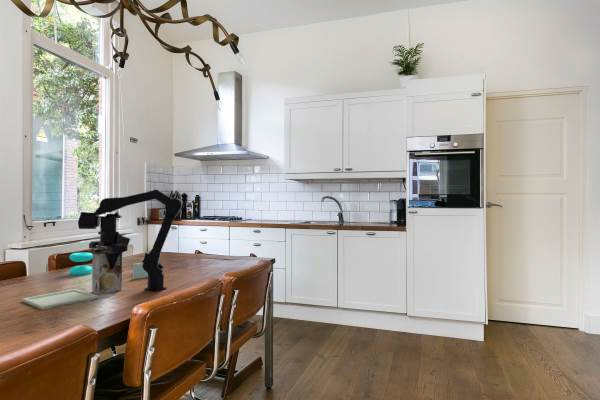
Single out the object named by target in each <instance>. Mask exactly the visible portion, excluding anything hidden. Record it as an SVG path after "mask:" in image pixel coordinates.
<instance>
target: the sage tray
mask: <svg viewBox="0 0 600 400" xmlns="http://www.w3.org/2000/svg"><path fill="white" fill-rule="evenodd" d="M97 299H98V295H97V294H95V293H90V292H87V291H84V290H81V289H79V288H78V289H77V288H74V289H73V288H72V289H67V290H60V291H57V292H51V293H45V294H40V295H34V296H28V297H22V302H23V303H25V304H28V305H30V306H32V307H35V308H36V309H40V310H41V311H44V310H49V309H53V308H57V307H63V306H68V305H73V304H79V303H82V302H87V301H92V300H97Z"/></svg>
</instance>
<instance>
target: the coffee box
mask: <svg viewBox="0 0 600 400" xmlns="http://www.w3.org/2000/svg"><path fill="white" fill-rule="evenodd" d="M106 252H109V251H100V252H93V251H92V254H93V258H92V259H91V261H92V262H91V263H92V266H91V267H92V273H91V284H92V286H91V292H92V293H93V294H96V295H97V294H98V295H103V294H108V293H113V292H118V291H122V290H123V289H122V288H123V285H122V284H123V282H122V281H123V280H122V279H123V278H122V277H123V275H122V274H123V273H122V272H123V271H122V270H123V269H122V268H123V266H122V265H123V253H121V254H120V255H119V256H118V258H117V261H116V263H115V266H114V268H113V269H110V266H109V262H108V259H107V255H106Z"/></svg>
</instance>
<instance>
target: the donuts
mask: <svg viewBox="0 0 600 400" xmlns="http://www.w3.org/2000/svg"><path fill="white" fill-rule="evenodd" d="M92 258H93V252H92V253H91V252H74V253H73V252H72V253H71V254H70V255H69V259H70V261H72V262H78V263H79V262H89V261H90V260H91V261H92ZM68 273H69V274H70V275H72V276H85V275H90V274H92V266H90V265H75V266H73V267H70V269H69V270H68Z"/></svg>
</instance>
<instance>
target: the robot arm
mask: <svg viewBox="0 0 600 400" xmlns="http://www.w3.org/2000/svg"><path fill="white" fill-rule="evenodd" d="M153 200H156V201H158V202H160V203H161V204H163V205H164V206H165V207H166V208H165V213H164V217H163V221H162V223H161V225H160V228H159V231H158V234H157V236H156V238H155V241H154V242H153V245H152V249H150V251H149V250H147V251H146V252H145V254H144V258H143V259H142V261H141V263H143V269H144V270H145V271H146V272H147V273H148V277H147V287H144V288H143V289H144V290H146V291H150V292H157V291H162V290H166V289H167V287H166V286H164V280H165V279H164V277H165V275H164V273H163V272H164V270H165V267H164V266H163V265H162V264H161V263H160V259H161V256H162V255H161V254H162V250H163V247H164V245H165V242H166V240H167V238H168V235H169V232H170V229H171V227H172V225H173V222H174V220H175V218H176V217H177V216H178V213H179V212H180V211H181V209H182V206H183V203H182V201H181V199H179V198H176V197H173V198H172V197H171V196H169V195H167V194H165V193H163V192H162V191H161V190H159V189H153V190H150V191H146V192H145V191H144V192H142V193H138V194H132V195H128V196H124V197H123V196H121V197H108V198H107V197H105V198H102V199H101V200H100V202H99V207H98V208H97V209H96V210H95V211H94V212H89V211H81V212H80V215H79V218H78V221H77V226H78V229H79V230H96V229H97V228H98V227H100V229H99V230H100V231H98V232H97V234H98V235H100V237H99V240H93V241H90V242H89V244H88V248H89V249H91V251H92V253H93V252H100V251H109V252H106V255H107V259H108V262H109V266H110V269H113V268H114V266H115V263H116V261H117V258H118V256H119V255H120V254H121V253H122V254H123V253H125V252H128V247H129V243H130V241H131V238H130V237H126V236H123V235H122V234H120V232H119V231H118V230H117V219H122V218H123V215H121V213H119V212H118V210H120V209H123V208H125V207H127V206H131V205H135V204H139V203H144V202H148V201H153ZM115 211H117V212H115ZM113 212H115V213H113ZM105 214H106V215H105Z"/></svg>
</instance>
